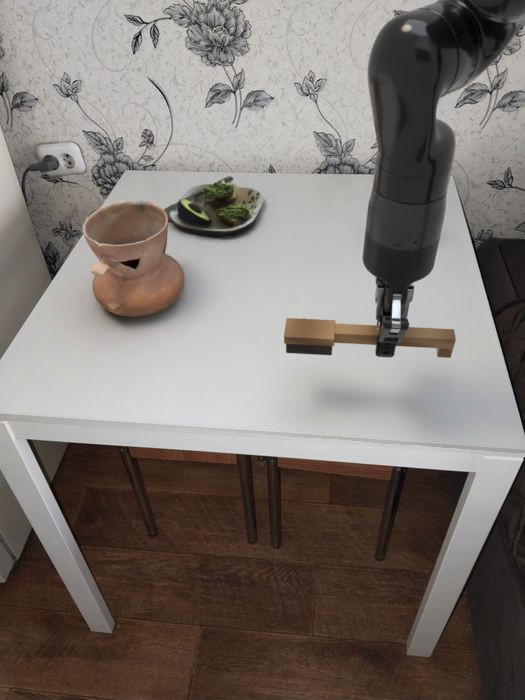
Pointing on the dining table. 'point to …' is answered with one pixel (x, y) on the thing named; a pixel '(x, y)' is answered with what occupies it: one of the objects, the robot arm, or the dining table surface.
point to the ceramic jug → (132, 258)
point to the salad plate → (216, 209)
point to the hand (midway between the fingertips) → (384, 347)
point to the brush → (357, 337)
